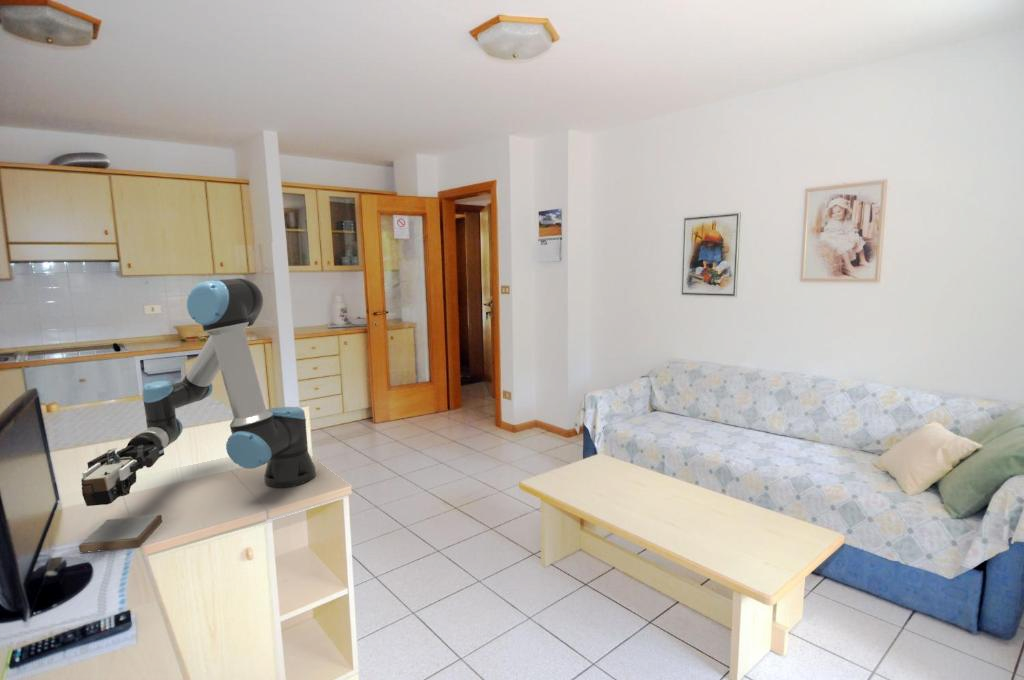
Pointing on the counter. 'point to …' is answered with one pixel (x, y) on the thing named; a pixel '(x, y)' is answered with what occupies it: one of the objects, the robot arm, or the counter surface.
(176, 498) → the counter surface
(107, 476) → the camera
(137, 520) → the walnut stand
